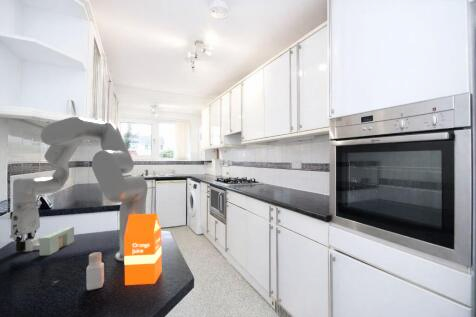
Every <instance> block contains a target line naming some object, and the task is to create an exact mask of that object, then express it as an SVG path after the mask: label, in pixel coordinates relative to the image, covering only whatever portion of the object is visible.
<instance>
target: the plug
mask: <svg viewBox="0 0 476 317" xmlns="http://www.w3.org/2000/svg"><path fill="white" fill-rule="evenodd" d="M39 238H40V237H38V238H37V237H34V238H32V239H27V240H25V239H24V241H25V251H21V252H33V251H40V248H39ZM58 245H59V249H60V248H62V247H64V246H63V237H58Z"/></svg>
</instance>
